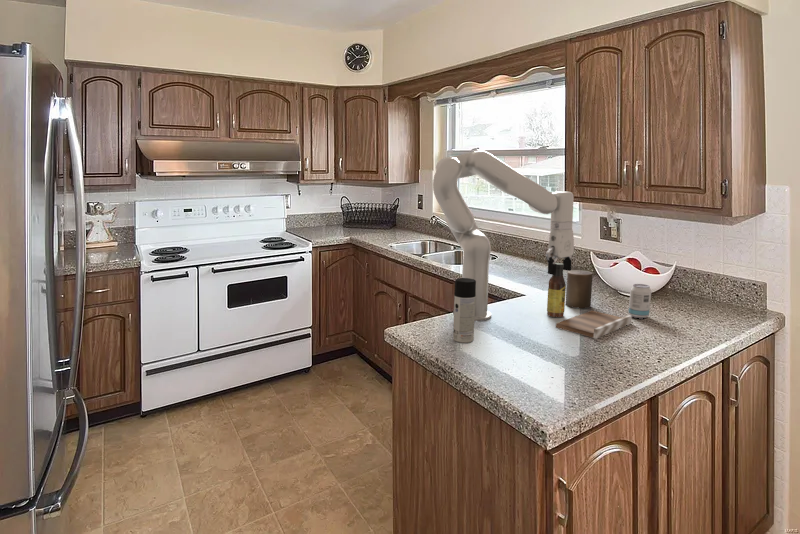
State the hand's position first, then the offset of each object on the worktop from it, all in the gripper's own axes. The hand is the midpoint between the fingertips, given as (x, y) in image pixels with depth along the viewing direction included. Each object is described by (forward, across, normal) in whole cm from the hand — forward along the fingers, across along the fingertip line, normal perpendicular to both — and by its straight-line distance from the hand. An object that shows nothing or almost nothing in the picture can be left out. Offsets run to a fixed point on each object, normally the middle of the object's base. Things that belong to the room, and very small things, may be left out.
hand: (559, 272), depth 184 cm
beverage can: (+18, +21, -20) cm, 34 cm away
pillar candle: (+17, +18, +3) cm, 25 cm away
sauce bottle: (+17, -1, +1) cm, 17 cm away
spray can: (+16, -47, +5) cm, 50 cm away
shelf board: (+17, -1, -14) cm, 22 cm away
